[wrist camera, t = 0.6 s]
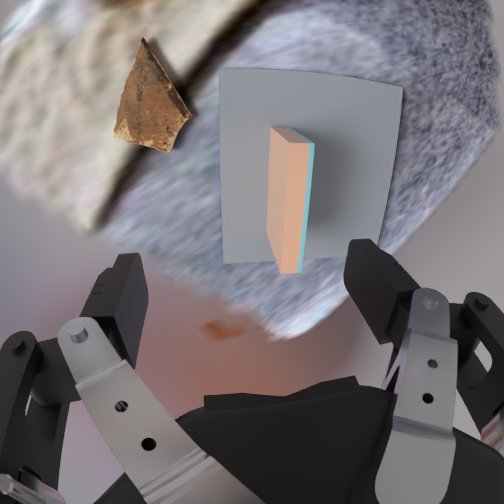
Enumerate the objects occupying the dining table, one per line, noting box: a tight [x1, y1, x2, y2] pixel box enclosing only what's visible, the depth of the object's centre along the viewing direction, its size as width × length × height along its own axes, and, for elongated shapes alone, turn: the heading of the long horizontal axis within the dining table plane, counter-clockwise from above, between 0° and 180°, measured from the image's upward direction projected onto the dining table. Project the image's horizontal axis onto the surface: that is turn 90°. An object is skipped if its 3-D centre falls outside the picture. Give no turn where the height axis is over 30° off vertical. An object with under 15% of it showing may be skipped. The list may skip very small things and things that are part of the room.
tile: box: [266, 127, 315, 274], centre depth 28 cm, size 12×2×8 cm, turn 179°
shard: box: [113, 38, 193, 152], centre depth 26 cm, size 11×8×2 cm
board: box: [219, 68, 403, 264], centre depth 32 cm, size 22×20×1 cm
